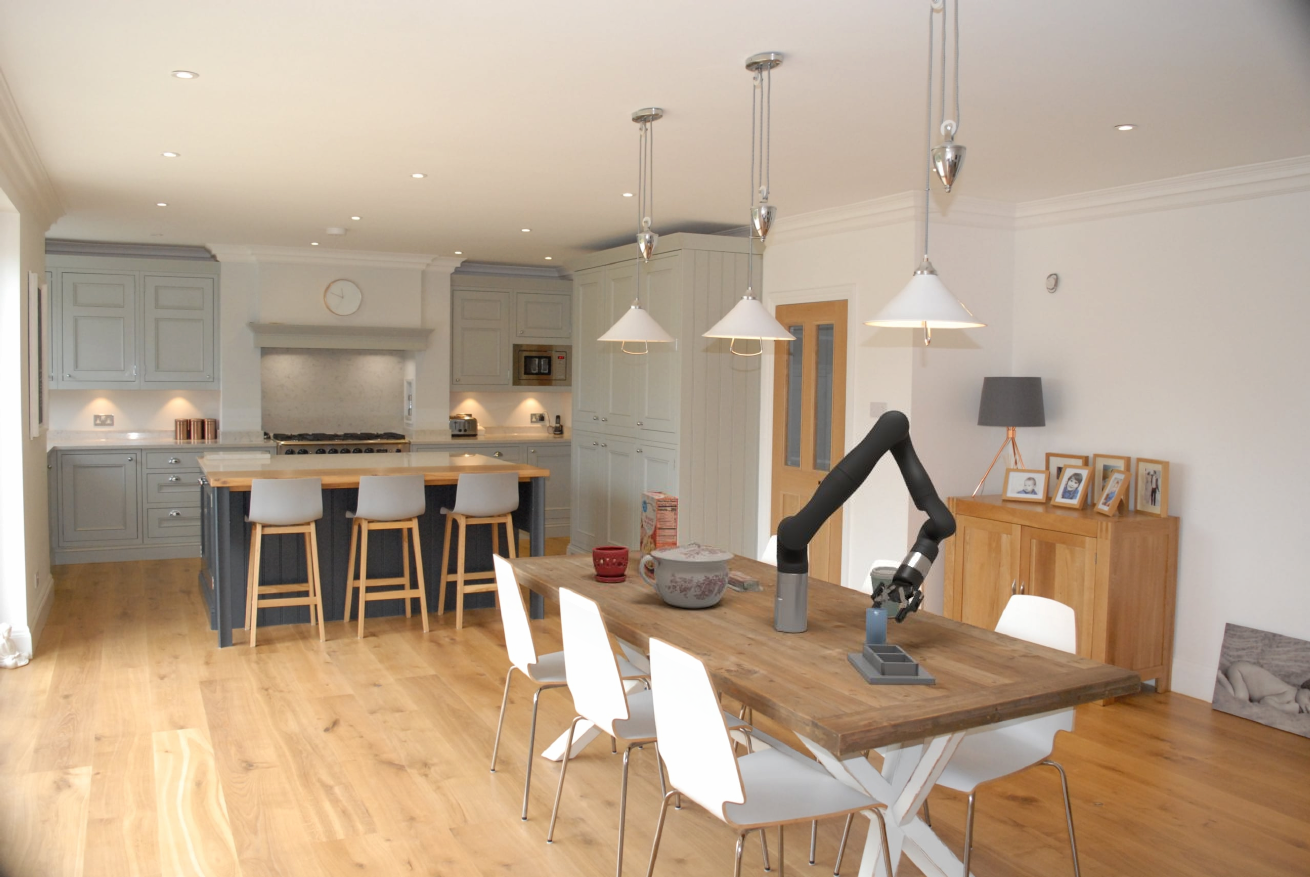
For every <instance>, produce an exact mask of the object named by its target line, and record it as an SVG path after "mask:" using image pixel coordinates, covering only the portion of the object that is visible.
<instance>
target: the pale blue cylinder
mask: <svg viewBox="0 0 1310 877" xmlns="http://www.w3.org/2000/svg"><path fill="white" fill-rule="evenodd" d="M865 613H866V614H865V617H866V618H865V641H864V642H865V644H872V645H887V639H888V638H887V637H888V636H887V633H888V632H887V631H888V618H887V610H886V609H882V608H871V607H869V608H868V607H867V608H866V611H865Z"/></svg>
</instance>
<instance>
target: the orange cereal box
mask: <svg viewBox="0 0 1310 877" xmlns="http://www.w3.org/2000/svg"><path fill="white" fill-rule="evenodd" d="M640 496H641V497H640V498H641V500H640V501H641V502H640V504H641V505H640V532H639V533H640V540H639V562H640V561H641V559H642V558H643V557H644V556H646V555H650V556H652V555H651V552H652V551H653V550H655V549H659V548H663V547H669V546H678V521H679V518H678V516H679V512H678V511H679V498H678V497H675V496H673V495H670V494H668V493H666V492H664V491H641V495H640ZM652 557H653V556H652ZM655 558H656V557H655ZM656 559H657V560H658V558H656ZM644 573H645V574H646V573H647V574H648V577H650V578H651V577H652V578H651V579H653V580H654V581H655V576H654V562H651V561H648V562H645V565H644ZM647 574H646V575H647Z"/></svg>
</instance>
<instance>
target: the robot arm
mask: <svg viewBox="0 0 1310 877" xmlns="http://www.w3.org/2000/svg"><path fill="white" fill-rule="evenodd" d="M910 426H911V425H910V421H909V418H908V416H907V415H906V414H905V413H904V412H902V411H900V410H894V409H893V410H889V411H886V412H884V413H882V414H881V415H880V416H879V418H878V419H877V421H876V422H875V424H874V425H872V428H871V429H870V430H869V432H867V434H866V435H865V437H864V438H863V439H862V440H861V441H860V442H859V443H858V444H857V445H856V446H855V447H854V448H853V449H852V450H850V451H849V452H848V453H846V455H845V456H844V457H843V458H842V459H840V461H839V462H838V463H836V465H835V466H834V467H833V468H832V469H831V470H830V471H829V472H828V473H827V474H826V476H825V477H824V478H823V479H822V480H821V482H820V484H819V486H818V487H817V488H816V489H815V492H814V494H813V495H812V496H811V497H810V498H811V499H810V500H809V501H808V502H807V503H806V505H805V506H804V507H802V509H800V510H799V511H798V512H797V513H796V514H795V515H789V516H786V517H784V518H783V519H781V521H780V522H779V523H778V526H777V529H776V586H775V587H776V591H775V594H774V605H773V608H774V609H773V627H774V629H775V630H776V631H777V632H784V633H802V632H806V631H807V629H808V628H807V627H808V626H807V625H808V599H809V596H808V595H809V573H810V572H809V567H810V566H809V565H810V563H809V556H808V555H809V554H808V551H809V550H808V549H809V546H808V544H809V543H810V542H812V539H813V538H814V537H815V536H816V534H817V532H819V530H820V529H821V527H822V526H823V525H824V524H825V522H826V521H828V519H829V518H830V517H831V516H832V515H833V514H834V513H836V512H837V510H839V508H841V507H842V506H843V505H844V504H845V503H846V502H847V501H848V500H849V499H850V497H852V495H853V494H855V492H856V491H857V490H858V489H859V488H860V487H861V486H862V485H863V483H864V482H866V480H867V478H868V477H869V476H870V474H871V473H872V472H873V470H874V468H875V467H876V465H877V464H878V463H879V461H880V460H881V458H882V457H883V456H884V455H885V454H886V453H887V452H889V453H890V454H891V455H892V457H893V459H894V461H895V463H896V464H897V467H898V468H899V471H900V474H901V476H902V478H903V481H904V483H905V486H906V488H907V491H908V493H909V495H910V498H911V499H912V501H913V503H914V506H915V508H916V509H917V510H918V511H919V512H925V513H926V514H927V516H928V517H929V518H928V519H926V520H925V521H924V523H923V524H922V525H921V527H920V529H919V531H918V533H917V537H916V541H915V542H914V544H912V545H913V546H912V547H911V549H910V550H909V551H908V553H907V555H906V556H905V557H904V558H903V559H902V562H901V563H900V564H899V566H898V567H897V568H898V569H897V571H896V573H895V574H894V576H893V580H892V583H891V584H889V585H886V584H884V583H883V582H880V583H879V585H878V586H877V588H876V589H875V591H874V592H873V591H872V593H871V595H870V599H871V600H872V601H873V603H872V606H871V607H870V608H881V606H882V605H884V604H886V603H887V604H888V603H890V602H898V603H900V604H901V606H902V607H901V608H899V611H898V614H897V615H896V617H894V620H895V621H896V623H897V624H901V623H902V622H904V620H905V618H906V617H907V615H908V614H910V613H911V612H912V613H916V612H918V610H919V607H920V606H921V604H922V602H923V601H924V600H923V599H924V598H925V595H924V593H923V592H922V590H921V589H920V588H921V586H922V584H923V583H924V581H925V580H926V577H927V576H928V574H929V572H930V570H931V567H932V566H933V564H934V563H935V560H936V559H937V557H938V554H939V552H940V549H939V545H940V544H941V542H942V541H944V540H945V539H948V538H950V537H952V536H953V535H954V534H955V533H956V531H957V522H956V519H955V516H954V515H953V514H952V512H951V510H950V509H949V508H948V506H946V504H945V502H944V501H942V499H941V498H940V497H939V494H938V492H937V489H936V488H935V486H934V484H933V482H932V479H931V477H930V475H929V474H928V472H927V470H926V469H925V467H924V465H923V464H922V462H921V459H920V458H919V457H918V455H917V452H916V450H915V447H914V445H913V442H912V438H911V435H910V428H911V427H910ZM886 595H888V597H889V598H886ZM876 596H877V597H876ZM882 599H884V600H882ZM880 600H882V601H880ZM910 600H911V601H910ZM900 604H899V605H900Z"/></svg>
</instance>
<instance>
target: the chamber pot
mask: <svg viewBox="0 0 1310 877" xmlns="http://www.w3.org/2000/svg"><path fill="white" fill-rule="evenodd" d="M651 555H652V556H653V557H652V556H650V555H646V556H644V557H643V558H642V559H641V561H640V560H639V562H638V569H637V570H638V573H639V576H640V578H641V579H642V580H643V581H644V582H645V583H646V584H648V586H650V587H652V588H653V589H654V590H655V591H656V593H657V594H658V595H659V596H660V597H661V598H662V599H663V601H664V602H665V603H667V604H669V605H671V606H673V607H677V608H682V609H691V610H692V609H697V608H698V609H704V608H709V607H712V606H714V605H716V604H717V603H718V602H719V601H720V600H721V598H722V597H723V595H724V593H725V592H726V590H727V589H728V587H727V585H728V581H729V572H731V571H730V568H729V567H728V564H727V561H730V560H732V559H734V557H735V554H733V552H730V551H728V550H725V549H722V548H718V547H712V546H707V545H705V546H704V545H701V544H700V542H699V541H695V540H693V541H688V542H686V543H685V544H684V545H683V544H682V545H677V546H669V547H663V548H659V549H655V550H653V551H652V552H651ZM655 557H656V558H658V560H657V559H656V558H655ZM648 561H651V562H654V576H655V580H654V582H653V581H651V580H650V579H649V578H648V577H647V576H646V573H645V572H644V565H645V562H648Z"/></svg>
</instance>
